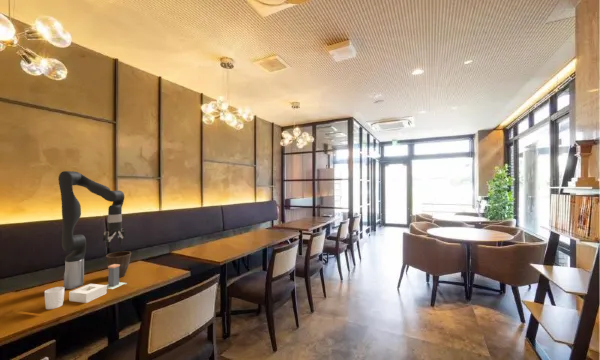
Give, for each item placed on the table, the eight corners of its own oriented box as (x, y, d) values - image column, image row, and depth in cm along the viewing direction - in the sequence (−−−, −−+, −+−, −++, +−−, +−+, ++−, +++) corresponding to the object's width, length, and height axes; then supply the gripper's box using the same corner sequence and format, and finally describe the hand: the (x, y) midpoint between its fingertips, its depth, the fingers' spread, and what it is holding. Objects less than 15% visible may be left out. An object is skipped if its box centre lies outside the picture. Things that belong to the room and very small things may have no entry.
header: (69, 302, 145) (69, 291, 145) (90, 293, 156) (90, 283, 156) (86, 304, 142) (86, 293, 142) (106, 295, 154) (106, 285, 154)
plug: (107, 286, 164) (107, 266, 164) (114, 283, 169) (114, 263, 169) (113, 286, 164) (113, 266, 164) (119, 284, 168) (120, 264, 168)
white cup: (41, 312, 133) (41, 293, 133) (48, 305, 140) (48, 287, 140) (60, 309, 136) (60, 291, 136) (66, 303, 144) (67, 285, 144)
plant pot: (108, 274, 188) (109, 252, 188) (132, 271, 194) (132, 250, 194) (103, 281, 175) (103, 258, 175) (128, 278, 181) (129, 255, 181)
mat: (99, 289, 162) (99, 287, 162) (114, 283, 172) (114, 281, 172) (112, 290, 160) (112, 289, 160) (126, 284, 170) (126, 282, 170)
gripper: (119, 219, 174) (119, 242, 174) (99, 222, 160) (99, 248, 160) (129, 219, 173) (128, 243, 173) (109, 223, 159) (109, 249, 159)
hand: (114, 245), depth 167 cm, fingers open, 8 cm apart
